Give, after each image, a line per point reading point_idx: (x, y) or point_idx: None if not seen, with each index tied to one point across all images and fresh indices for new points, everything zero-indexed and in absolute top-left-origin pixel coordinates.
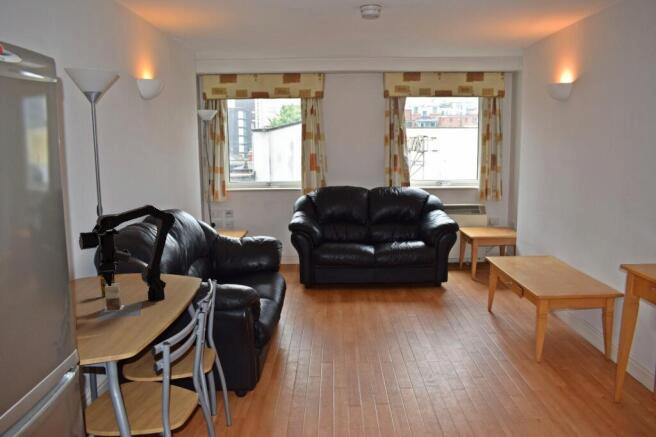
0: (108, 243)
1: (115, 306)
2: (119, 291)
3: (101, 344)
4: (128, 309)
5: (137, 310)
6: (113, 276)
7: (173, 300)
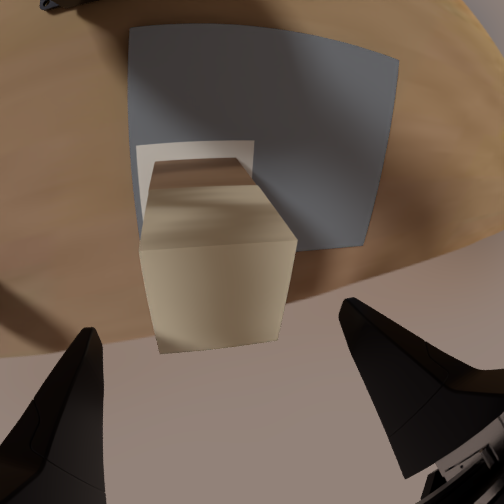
0: None
1: None
2: (172, 202)
3: (500, 201)
4: (258, 104)
5: (308, 54)
6: (86, 367)
7: None
